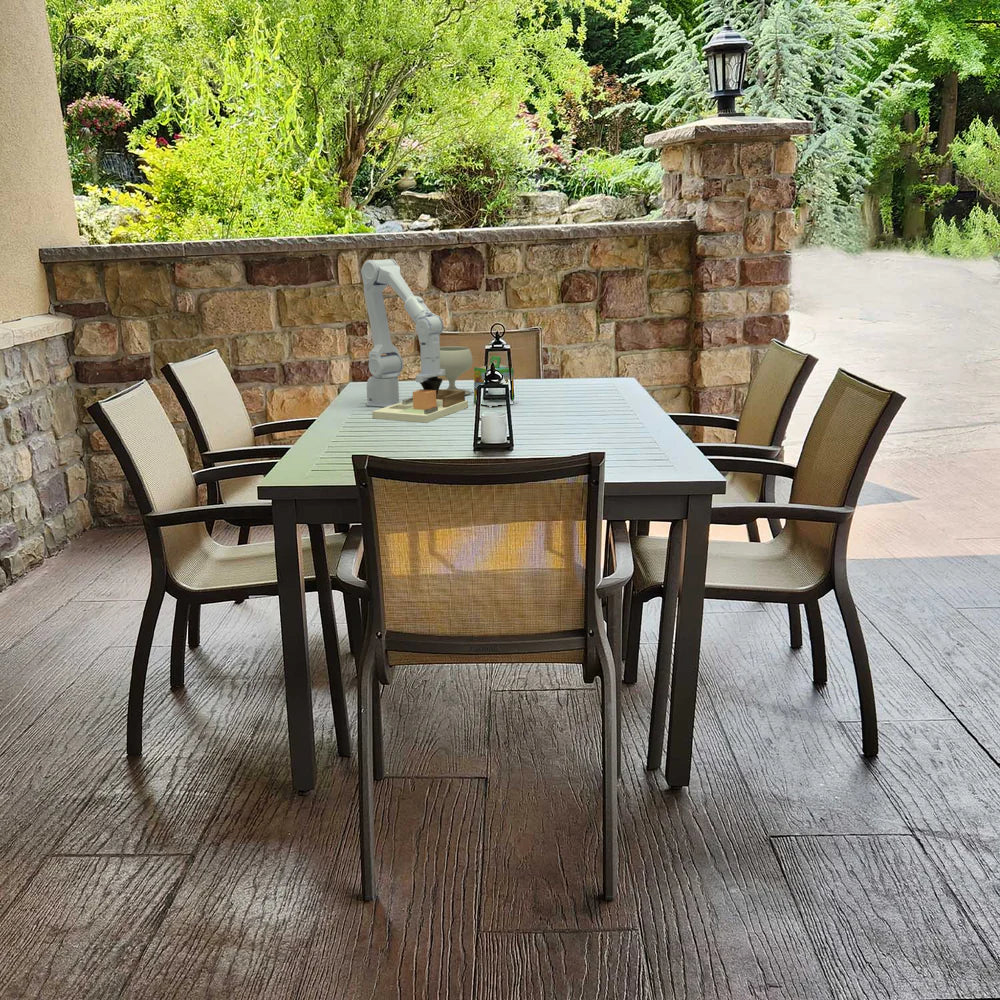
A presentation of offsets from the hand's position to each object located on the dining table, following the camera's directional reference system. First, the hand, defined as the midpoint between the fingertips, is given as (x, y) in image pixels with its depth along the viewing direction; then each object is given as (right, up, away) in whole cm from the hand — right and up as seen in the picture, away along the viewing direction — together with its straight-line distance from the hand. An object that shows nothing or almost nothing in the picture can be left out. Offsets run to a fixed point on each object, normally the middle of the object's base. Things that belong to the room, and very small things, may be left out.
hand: (431, 403), depth 299 cm
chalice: (+5, +6, +32) cm, 33 cm away
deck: (-3, -3, 0) cm, 4 cm away
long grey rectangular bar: (-7, +1, +6) cm, 9 cm away
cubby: (+2, +1, +4) cm, 5 cm away
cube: (-2, -2, -3) cm, 4 cm away
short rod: (+1, -4, -11) cm, 11 cm away
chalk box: (+18, +1, +13) cm, 22 cm away
